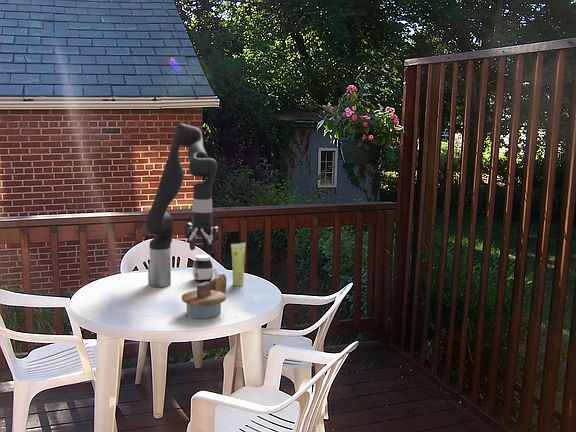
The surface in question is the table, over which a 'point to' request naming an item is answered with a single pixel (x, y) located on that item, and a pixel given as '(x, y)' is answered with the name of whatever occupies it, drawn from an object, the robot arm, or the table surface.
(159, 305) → the table surface
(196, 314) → the bowl
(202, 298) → the lid
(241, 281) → the tube
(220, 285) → the brown thin box
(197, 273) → the spread jar
